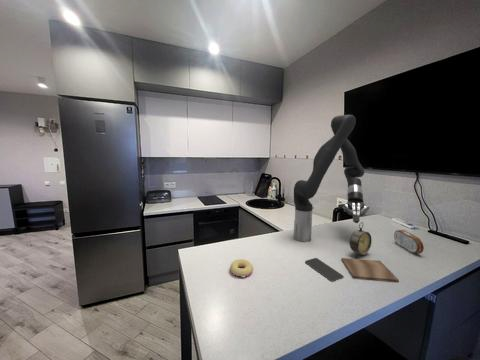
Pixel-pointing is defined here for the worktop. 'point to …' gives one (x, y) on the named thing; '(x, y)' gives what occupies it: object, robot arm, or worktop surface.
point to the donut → (241, 271)
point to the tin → (408, 241)
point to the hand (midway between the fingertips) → (356, 222)
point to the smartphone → (324, 269)
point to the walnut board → (369, 270)
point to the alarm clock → (360, 241)
